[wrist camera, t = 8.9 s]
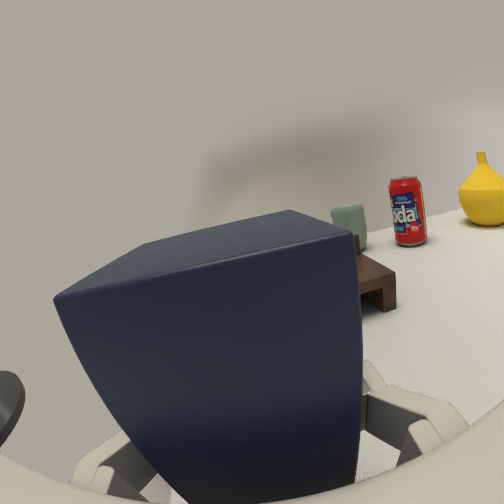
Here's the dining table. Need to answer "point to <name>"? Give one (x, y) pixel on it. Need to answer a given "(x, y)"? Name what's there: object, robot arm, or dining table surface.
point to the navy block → (231, 356)
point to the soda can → (408, 210)
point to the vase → (483, 195)
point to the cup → (351, 221)
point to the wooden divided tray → (375, 280)
